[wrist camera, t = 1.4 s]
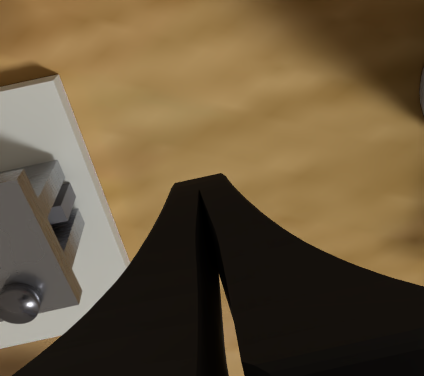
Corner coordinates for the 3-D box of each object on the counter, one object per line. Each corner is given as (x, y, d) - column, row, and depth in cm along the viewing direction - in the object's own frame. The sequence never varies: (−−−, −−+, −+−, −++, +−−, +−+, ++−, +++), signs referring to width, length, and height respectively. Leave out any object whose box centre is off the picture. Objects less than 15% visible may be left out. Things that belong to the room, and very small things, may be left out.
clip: (93, 243, 20) (76, 316, 16) (14, 260, 20) (-23, 337, 16) (46, 133, 17) (10, 188, 13) (-47, 153, 17) (-112, 214, 13)
